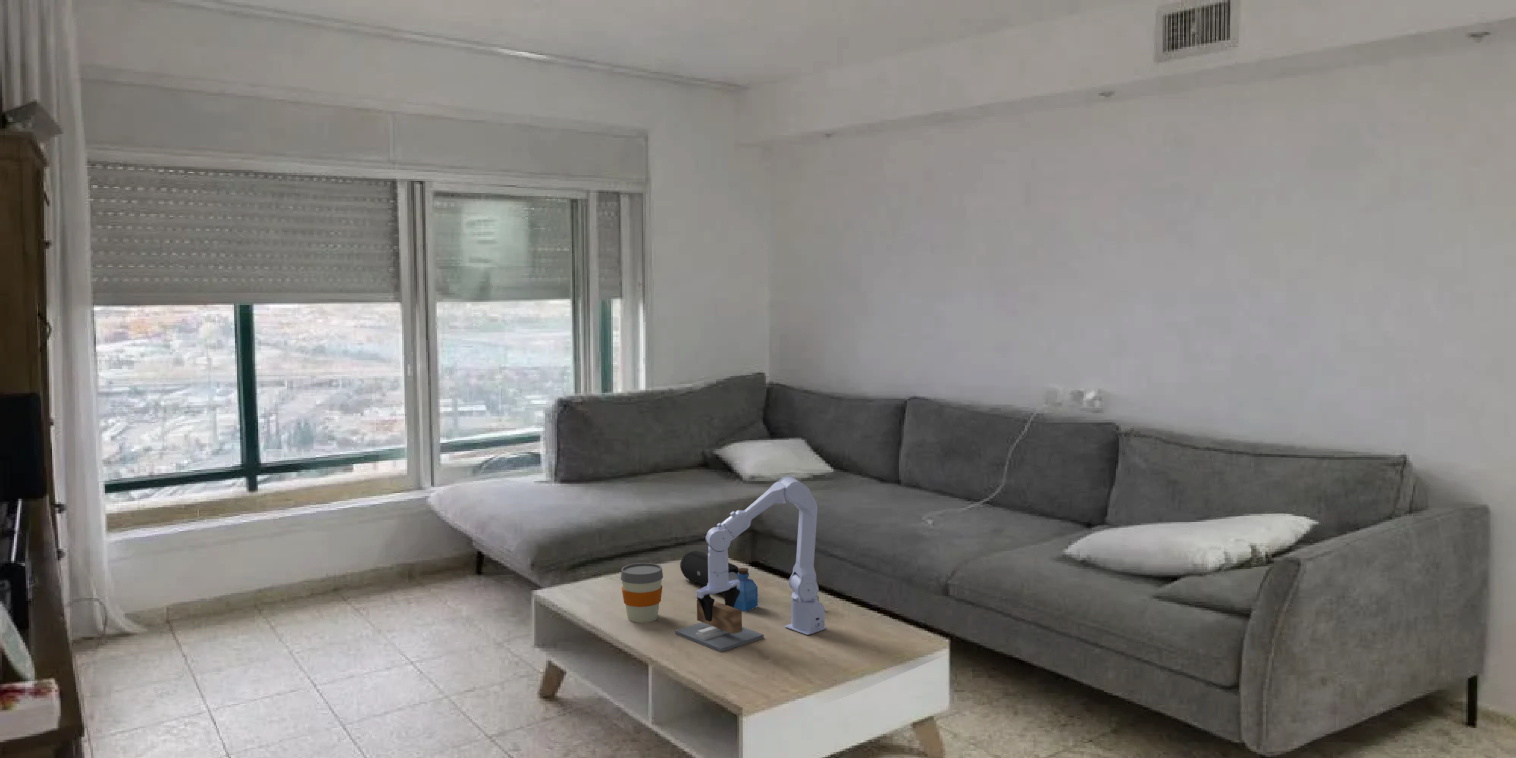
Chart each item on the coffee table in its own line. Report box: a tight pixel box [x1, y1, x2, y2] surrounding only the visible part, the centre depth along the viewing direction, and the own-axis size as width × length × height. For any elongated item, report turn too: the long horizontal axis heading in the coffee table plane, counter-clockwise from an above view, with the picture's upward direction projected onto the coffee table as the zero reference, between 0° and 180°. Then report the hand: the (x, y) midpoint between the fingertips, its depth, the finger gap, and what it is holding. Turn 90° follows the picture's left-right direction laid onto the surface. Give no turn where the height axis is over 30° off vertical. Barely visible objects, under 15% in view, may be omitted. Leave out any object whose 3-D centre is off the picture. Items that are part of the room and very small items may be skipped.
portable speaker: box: [679, 550, 740, 595], centre depth 341 cm, size 26×10×10 cm, turn 36°
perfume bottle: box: [734, 567, 759, 612], centre depth 320 cm, size 6×6×12 cm
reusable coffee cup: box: [620, 562, 664, 624], centre depth 311 cm, size 13×13×15 cm
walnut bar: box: [696, 599, 743, 634], centre depth 295 cm, size 16×3×6 cm, turn 43°
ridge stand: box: [674, 622, 765, 653], centre depth 295 cm, size 20×16×3 cm
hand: (718, 617), depth 295 cm, fingers open, 7 cm apart
